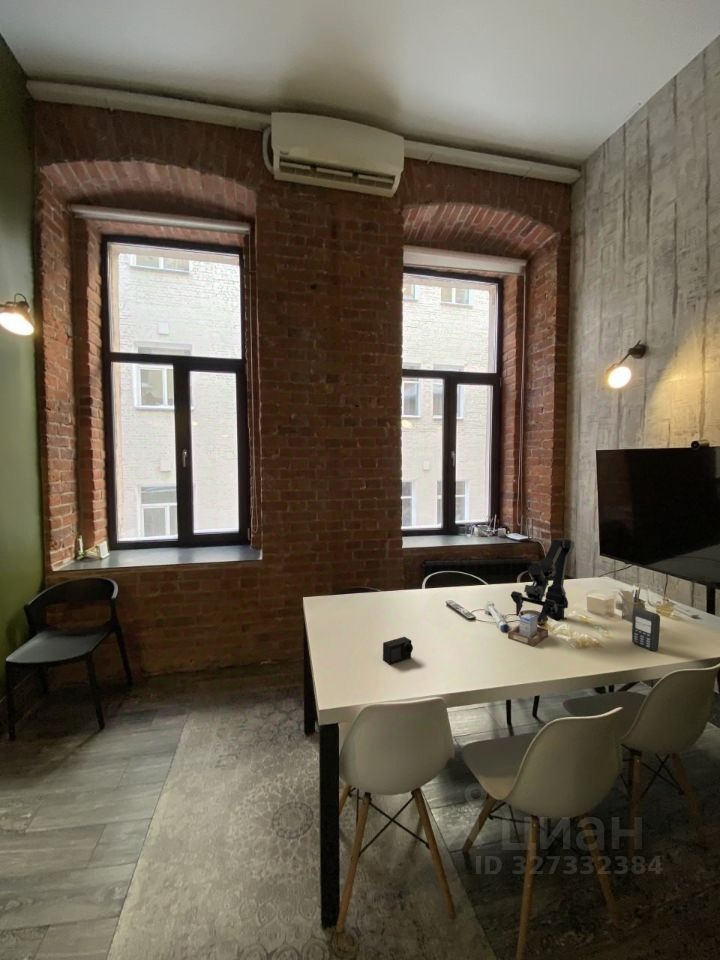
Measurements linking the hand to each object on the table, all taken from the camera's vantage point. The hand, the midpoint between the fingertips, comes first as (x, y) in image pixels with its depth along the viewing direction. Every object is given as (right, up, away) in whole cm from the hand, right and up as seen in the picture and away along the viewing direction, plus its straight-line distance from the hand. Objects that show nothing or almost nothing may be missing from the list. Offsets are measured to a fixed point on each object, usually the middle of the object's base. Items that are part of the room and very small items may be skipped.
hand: (527, 618), depth 173 cm
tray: (+1, -9, +1) cm, 9 cm away
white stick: (-7, -8, +19) cm, 22 cm away
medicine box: (+1, -8, +1) cm, 8 cm away
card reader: (+46, -10, -6) cm, 47 cm away
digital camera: (-58, -9, -21) cm, 62 cm away
